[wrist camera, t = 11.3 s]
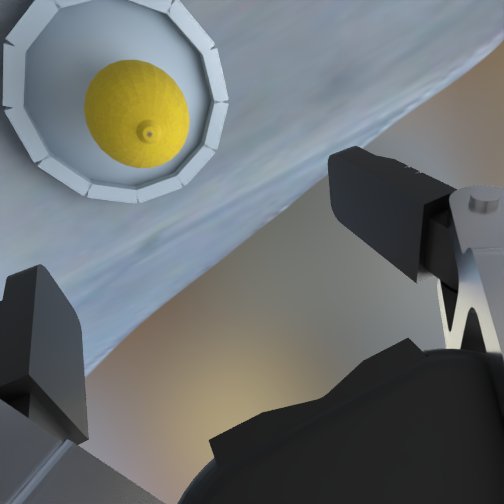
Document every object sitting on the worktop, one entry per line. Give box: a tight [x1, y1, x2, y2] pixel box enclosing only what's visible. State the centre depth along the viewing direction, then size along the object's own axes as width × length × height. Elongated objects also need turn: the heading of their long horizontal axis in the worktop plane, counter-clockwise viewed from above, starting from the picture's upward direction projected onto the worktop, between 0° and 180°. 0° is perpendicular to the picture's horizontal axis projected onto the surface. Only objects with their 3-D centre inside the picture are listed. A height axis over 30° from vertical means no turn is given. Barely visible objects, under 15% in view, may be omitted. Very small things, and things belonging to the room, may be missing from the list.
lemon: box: [84, 60, 190, 168], centre depth 22 cm, size 6×6×8 cm
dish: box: [3, 0, 229, 203], centre depth 25 cm, size 13×13×2 cm
